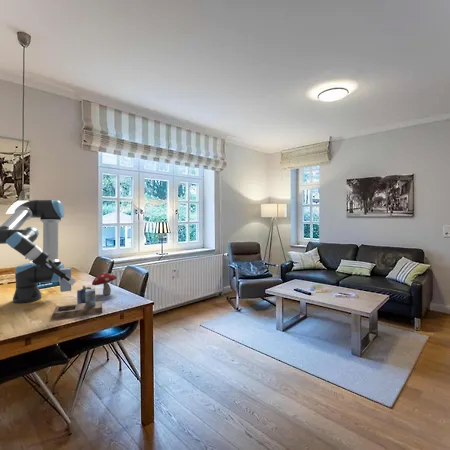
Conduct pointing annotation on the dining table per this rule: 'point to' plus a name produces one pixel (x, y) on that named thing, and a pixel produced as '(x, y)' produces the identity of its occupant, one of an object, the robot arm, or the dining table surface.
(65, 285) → the gray rectangular block
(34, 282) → the robot arm
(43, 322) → the dining table surface
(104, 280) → the decorative mushroom
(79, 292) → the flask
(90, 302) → the block insertion board
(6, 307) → the dining table surface
